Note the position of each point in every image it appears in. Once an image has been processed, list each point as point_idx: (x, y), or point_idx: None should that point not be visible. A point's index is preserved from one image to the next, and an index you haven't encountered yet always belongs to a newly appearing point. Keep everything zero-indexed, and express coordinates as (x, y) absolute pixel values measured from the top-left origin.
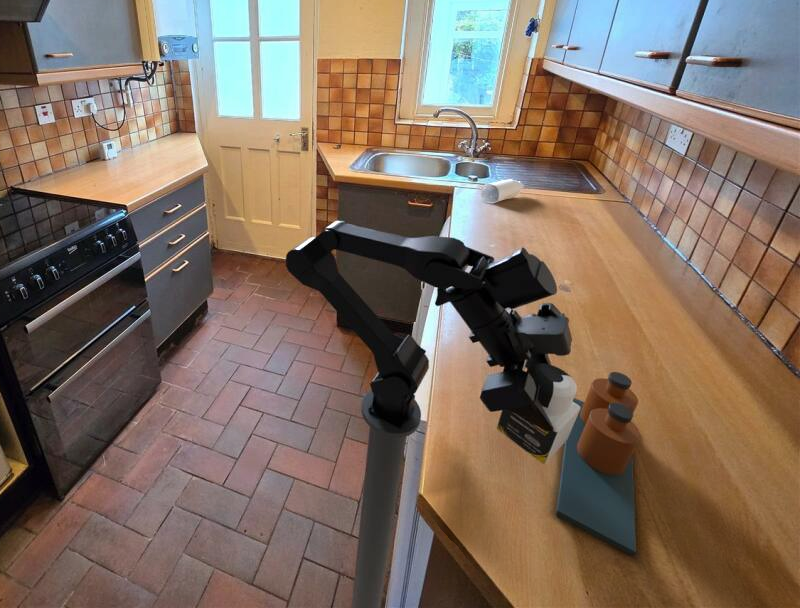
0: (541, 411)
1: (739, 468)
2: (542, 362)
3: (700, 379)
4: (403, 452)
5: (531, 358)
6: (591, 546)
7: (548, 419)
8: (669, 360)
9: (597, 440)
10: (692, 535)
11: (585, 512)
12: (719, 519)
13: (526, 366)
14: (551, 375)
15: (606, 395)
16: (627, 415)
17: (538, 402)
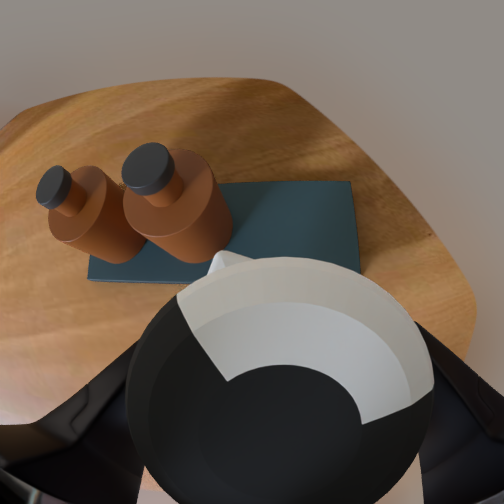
0: (478, 382)
1: (131, 107)
2: (106, 433)
3: (29, 152)
4: None
5: (112, 472)
6: (371, 232)
7: (434, 347)
8: (11, 179)
9: (212, 221)
10: (261, 132)
11: (334, 241)
12: (217, 113)
13: (142, 461)
14: (287, 448)
15: (86, 213)
16: (156, 151)
17: (486, 411)
